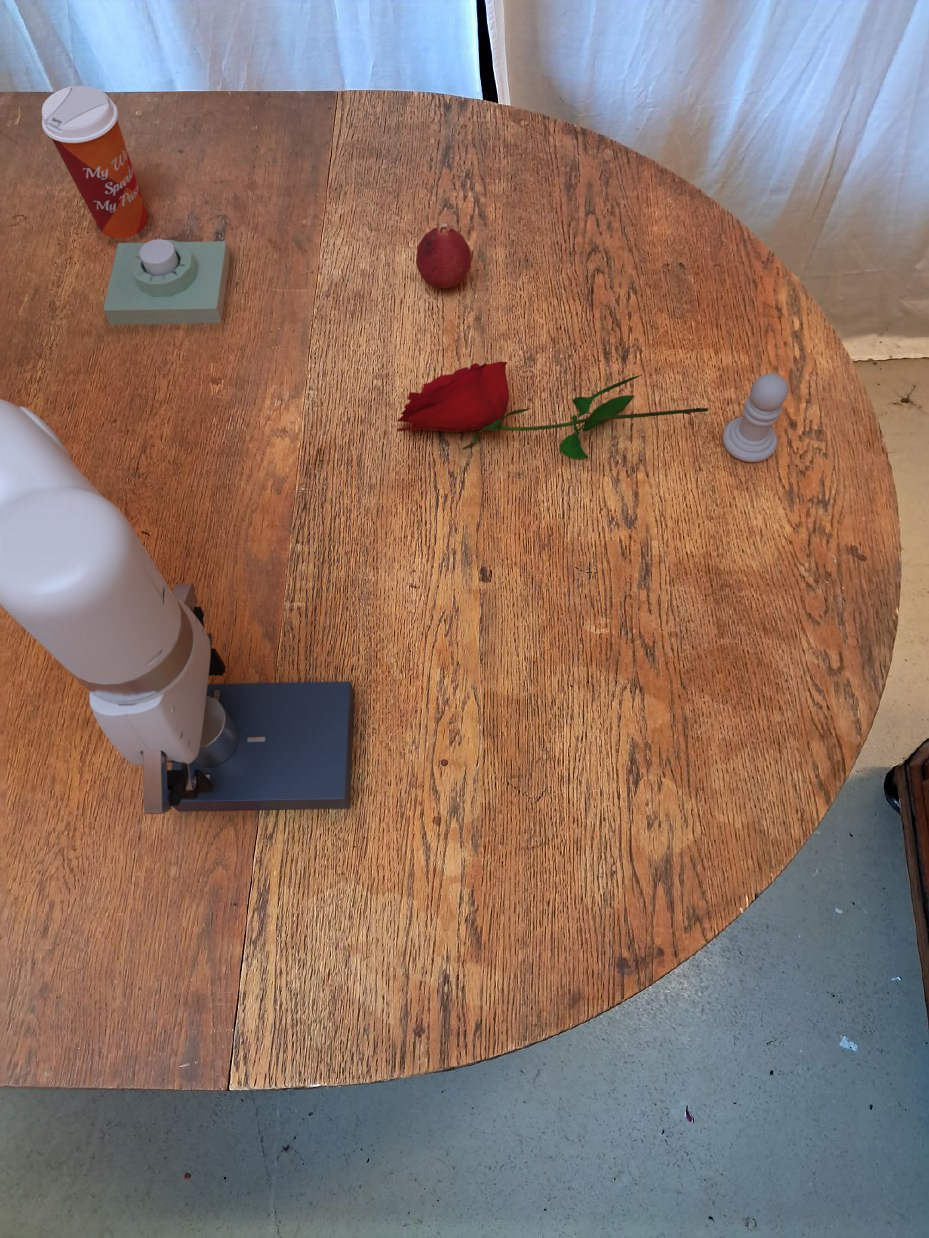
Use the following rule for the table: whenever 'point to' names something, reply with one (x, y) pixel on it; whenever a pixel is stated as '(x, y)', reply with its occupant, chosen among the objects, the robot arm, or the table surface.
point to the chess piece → (757, 420)
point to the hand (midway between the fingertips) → (200, 728)
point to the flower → (501, 406)
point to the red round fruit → (443, 257)
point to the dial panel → (282, 748)
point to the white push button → (159, 257)
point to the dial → (216, 735)
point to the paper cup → (96, 157)
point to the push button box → (169, 286)
